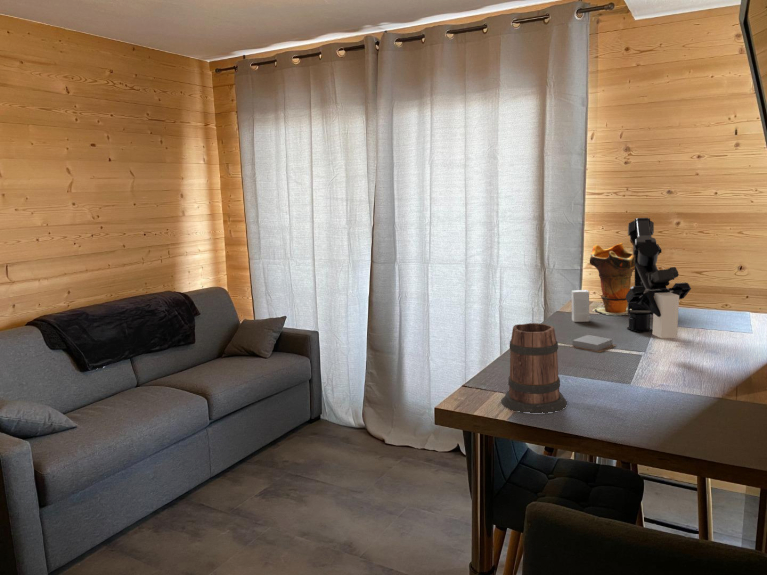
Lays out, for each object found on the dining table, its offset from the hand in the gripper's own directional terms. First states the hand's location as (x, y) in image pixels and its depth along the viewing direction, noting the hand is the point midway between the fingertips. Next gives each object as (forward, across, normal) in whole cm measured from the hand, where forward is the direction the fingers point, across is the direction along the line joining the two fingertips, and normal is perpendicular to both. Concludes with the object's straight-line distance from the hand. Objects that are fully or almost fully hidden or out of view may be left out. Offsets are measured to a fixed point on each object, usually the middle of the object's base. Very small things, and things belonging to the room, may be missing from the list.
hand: (668, 315), depth 185 cm
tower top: (-2, -17, +19) cm, 26 cm away
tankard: (+26, -50, -6) cm, 56 cm away
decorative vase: (-36, +16, +56) cm, 69 cm away
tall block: (+4, 0, +6) cm, 7 cm away
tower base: (-1, -17, +21) cm, 27 cm away
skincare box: (-28, -4, +48) cm, 55 cm away
